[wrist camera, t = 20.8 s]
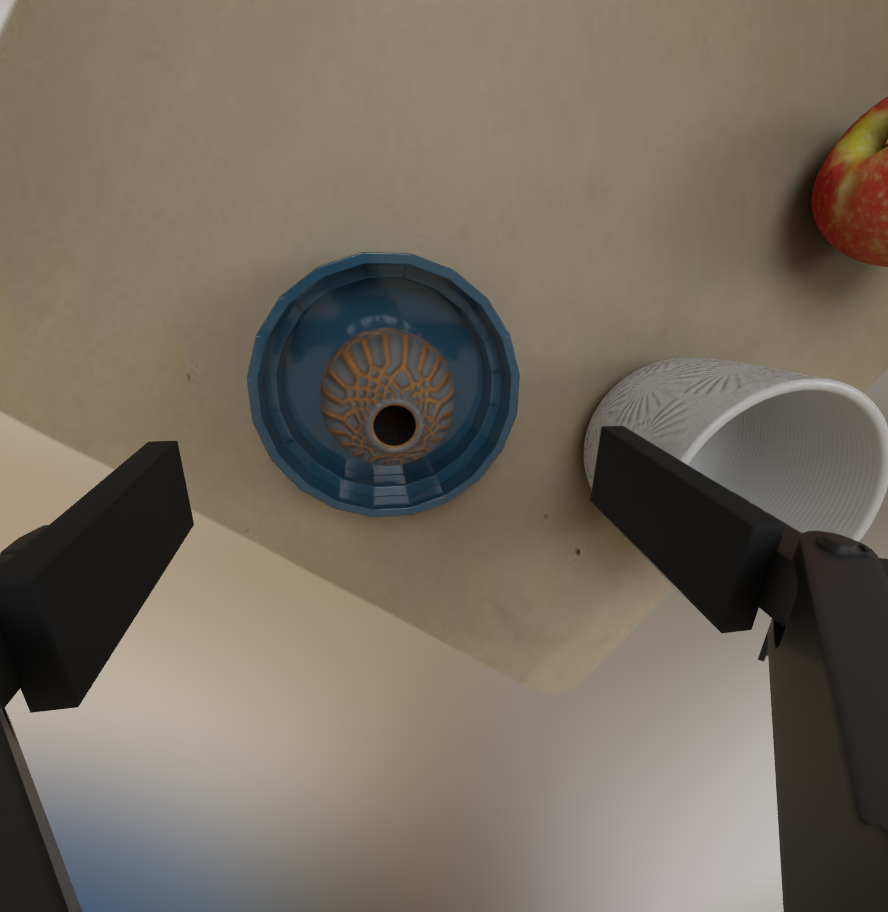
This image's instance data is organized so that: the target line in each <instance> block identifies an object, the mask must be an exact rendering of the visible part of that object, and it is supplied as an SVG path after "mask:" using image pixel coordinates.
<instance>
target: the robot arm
mask: <svg viewBox="0 0 888 912" xmlns="http://www.w3.org/2000/svg"><path fill="white" fill-rule="evenodd" d="M590 501H591V502H592V503H593V504H594V505H595V506H596V507H597V508H598V509H599V510H600V511H601V512H602V513H603V514H604V515H605V516H606V517H607V518H608V519H609V520H610V521H611V522H612V523H613V524H614V525H615V526H616V527H617V528H618V529H619V530H620V531H621V532H622V533H623V534H624V535H625V536H626V537H627V538H628V539H629V540H630V541H631V542H632V543H633V544H634V545H635V546H636V547H637V548H638V549H639V550H640V551H641V552H642V553H643V554H644V555H645V556H646V557H647V558H648V559H649V560H650V561H651V562H652V563H653V564H654V565H655V566H656V567H657V568H658V569H659V570H660V571H661V572H662V573H663V574H664V575H665V576H666V577H667V579H668V580H669V581H670V582H671V583H672V584H673V585H674V586H675V587H676V588H677V589H678V590H679V591H680V592H681V593H682V594H683V595H684V596H685V597H686V598H687V599H688V600H689V601H690V602H691V603H692V604H693V605H694V606H695V607H696V608H697V609H698V610H699V611H700V612H701V613H702V614H703V615H704V616H705V617H706V618H707V619H708V620H709V621H710V622H711V623H712V624H713V625H714V626H715V627H716V628H717V629H718V630H719V631H720V632H721V633H728V632H736V631H745V630H751V629H752V626H753V623H754V620H755V617H756V614H757V611H758V608H759V607H760V608H761V609H762V610H763V611H764V612H766V613H767V614H768V615H769V616H770V617H771V618H772V620H771V623H770V626H769V629H768V632H767V635H766V638H765V641H764V644H763V646H762V649H761V652H760V655H759V658H758V659H759V660H761V661H764V660H765V657H766V656H769V672H770V687H771V688H770V689H771V706H772V722H773V739H774V754H775V772H776V789H777V806H778V823H779V839H780V855H781V873H782V890H783V905H784V912H888V559H881V558H878V556H877V555H876V554H875V553H874V551H873V550H872V549H870V548H868V546H866V545H864V544H862V543H860V542H858V541H855V540H853V539H851V538H848V537H846V536H843V535H840V534H835V533H830V532H824V531H807V532H804V533H801V532H799V531H798V530H796V529H794V528H793V527H791V526H789V525H788V524H786V523H784V522H783V521H781V520H779V519H778V518H776V517H774V516H773V515H771V514H769V513H768V512H766V511H763V509H761V508H760V507H758V506H756V505H755V504H751V503H750V501H748V500H746V499H745V498H743V497H741V496H740V495H738V494H736V493H735V492H732V491H730V490H728V489H727V488H725V487H723V486H722V485H720V484H718V483H717V482H715V481H713V480H712V479H710V478H708V477H707V476H705V475H703V474H702V473H700V472H698V471H697V470H695V469H694V468H692V467H690V466H689V465H687V464H685V463H684V462H682V461H680V460H679V459H677V458H675V457H674V456H672V455H670V454H669V453H667V452H665V451H664V450H662V449H661V448H659V447H657V446H656V445H654V444H652V443H651V442H649V441H647V440H646V439H644V438H642V437H641V436H639V435H637V434H636V433H634V432H632V431H631V430H629V429H627V428H626V427H624V426H601V433H600V439H599V446H598V453H597V459H596V466H595V472H594V479H593V486H592V492H591V499H590ZM193 525H194V523H193V518H192V512H191V507H190V502H189V497H188V492H187V487H186V482H185V477H184V472H183V467H182V462H181V457H180V452H179V447H178V442H177V441H158V442H148V443H146V444H145V445H144V446H143V447H142V448H140V449H139V450H138V451H137V452H136V453H135V454H133V455H132V456H131V457H130V458H129V459H127V460H126V461H125V462H124V463H123V464H121V465H120V466H119V467H118V468H117V469H115V470H114V471H113V472H112V473H111V474H110V475H108V476H107V477H106V478H105V479H104V480H103V481H101V482H100V483H99V484H98V485H96V486H95V487H94V488H93V489H92V490H91V491H89V492H88V493H87V494H86V495H85V496H84V497H82V498H81V499H80V500H79V501H77V502H76V503H75V504H74V505H73V506H71V507H70V508H69V509H68V510H67V511H66V512H64V513H63V514H62V515H61V516H60V517H58V518H57V519H56V520H55V521H54V522H52V523H51V524H50V525H45V526H42V527H40V528H38V529H36V530H34V531H32V532H30V533H28V534H26V535H24V536H22V537H20V538H18V539H17V540H16V541H14V542H13V543H12V544H11V545H9V546H8V547H7V548H6V549H4V550H3V551H2V552H1V554H0V912H82V910H81V907H80V905H79V902H78V899H77V896H76V894H75V891H74V889H73V886H72V883H71V881H70V878H69V875H68V873H67V870H66V867H65V865H64V862H63V859H62V857H61V854H60V851H59V849H58V846H57V843H56V841H55V838H54V835H53V833H52V830H51V827H50V825H49V822H48V819H47V817H46V814H45V812H44V809H43V806H42V804H41V801H40V798H39V796H38V793H37V790H36V788H35V785H34V782H33V780H32V777H31V774H30V772H29V769H28V766H27V764H26V761H25V758H24V756H23V753H22V750H21V748H20V745H19V743H18V740H17V737H16V735H15V732H14V729H13V727H12V724H11V721H10V719H9V717H8V714H7V712H6V710H5V706H6V705H7V704H8V703H9V701H10V700H11V699H12V698H13V696H14V695H15V694H16V693H17V691H18V690H19V689H20V688H21V690H22V693H23V695H24V698H25V700H26V703H27V705H28V707H29V710H30V712H40V711H49V710H57V709H66V708H74V707H78V706H79V705H80V703H81V702H82V700H83V698H84V697H85V695H86V694H87V692H88V690H89V689H90V688H91V686H92V684H93V682H94V681H95V680H96V678H97V677H98V675H99V673H100V672H101V670H102V668H103V667H104V665H105V664H106V662H107V661H108V659H109V658H110V656H111V654H112V653H113V651H114V650H115V648H116V646H117V645H118V643H119V642H120V640H121V639H122V637H123V636H124V634H125V632H126V631H127V629H128V627H129V626H130V624H131V623H132V621H133V620H134V618H135V617H136V615H137V613H138V612H139V610H140V609H141V607H142V605H143V604H144V602H145V601H146V599H147V598H148V596H149V595H150V593H151V591H152V590H153V588H154V587H155V585H156V583H157V582H158V580H159V579H160V577H161V576H162V574H163V572H164V571H165V569H166V568H167V566H168V564H169V563H170V561H171V560H172V558H173V556H174V555H175V553H176V552H177V550H178V549H179V547H180V546H181V544H182V542H183V541H184V539H185V538H186V536H187V534H188V533H189V531H190V530H191V528H192V527H193Z"/></svg>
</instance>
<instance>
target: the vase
mask: <svg viewBox="0 0 888 912" xmlns="http://www.w3.org/2000/svg"><path fill="white" fill-rule="evenodd" d="M455 401H456V394H455V386H454V381H453V377H452V374H451V371H450V369H449V367H448V365H447V363H446V362H445V360H444V359H443V357H442V356H441V354H440V353H439V352H438V351H437V350H436V349H435V348H434V347H433V346H432V345H431V344H430V343H429V342H427V341H426V340H425V339H423V338H422V337H420V336H418V335H416V334H414V333H412V332H409V331H406V330H402V329H398V328H390V327H382V328H374V329H369V330H366V331H363V332H361V333H358V334H356V335H354V336H353V337H351V338H350V339H348V340H347V341H345V342H344V343H343V344H342V345H341V346H340V347H339V348H338V349H337V350H336V351H335V352H334V354H333V355H332V356H331V358H330V360H329V361H328V363H327V365H326V367H325V370H324V372H323V375H322V379H321V384H320V407H321V411H322V415H323V418H324V421H325V423H326V426H327V428H328V429H329V431H330V433H331V434H332V436H333V437H334V439H335V440H336V441H337V442H338V443H339V444H340V445H341V446H342V447H343V448H344V449H345V450H346V451H348V452H349V453H350V454H352V455H353V456H355V457H357V458H359V459H361V460H363V461H365V462H368V463H372V464H376V465H382V466H396V465H403V464H407V463H410V462H413V461H415V460H417V459H420V458H421V457H423V456H425V455H426V454H428V453H429V452H430V451H431V450H433V449H434V448H435V447H436V446H437V445H438V444H439V442H440V441H441V440H442V439H443V437H444V436H445V434H446V432H447V431H448V428H449V426H450V424H451V421H452V418H453V415H454V410H455Z"/></svg>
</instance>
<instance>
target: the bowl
mask: <svg viewBox="0 0 888 912" xmlns="http://www.w3.org/2000/svg"><path fill="white" fill-rule="evenodd" d="M382 327H390V328H398V329H402V330H406V331H409V332H412V333H414V334H416V335H418V336H420V337H422V338H423V339H425V340H426V341H427V342H429V343H430V344H431V345H432V346H433V347H434V348H435V349H436V350H437V351H438V352H439V353H440V354H441V356H442V357H443V359H444V360H445V362H446V363H447V365H448V367H449V369H450V371H451V374H452V377H453V381H454V386H455V394H456V401H455V410H454V415H453V418H452V421H451V424H450V426H449V428H448V431H447V432H446V434H445V436H444V437H443V439H442V440H441V441H440V442H439V444H438V445H437V446H436V447H435V448H434V449H433V450H431V451H430V452H429V453H428V454H426V455H425V456H423V457H421V458H420V459H417V460H415V461H413V462H410V463H407V464H403V465H396V466H382V465H376V464H372V463H368V462H365V461H363V460H361V459H359V458H357V457H355V456H353V455H352V454H350V453H349V452H348V451H346V450H345V449H344V448H343V447H342V446H341V445H340V444H339V443H338V442H337V441H336V440H335V439H334V437H333V436H332V434H331V433H330V431H329V429H328V428H327V426H326V423H325V421H324V418H323V415H322V411H321V407H320V384H321V379H322V375H323V372H324V370H325V367H326V365H327V363H328V361H329V360H330V358H331V356H332V355H333V354H334V352H335V351H336V350H337V349H338V348H339V347H340V346H341V345H342V344H343V343H344V342H345V341H347V340H348V339H350V338H351V337H353V336H354V335H356V334H358V333H361V332H363V331H366V330H369V329H374V328H382ZM519 378H520V376H519V370H518V365H517V361H516V357H515V353H514V349H513V344H512V340H511V336H510V334H509V332H508V330H507V329H506V327H505V326H504V324H503V322H502V321H501V319H500V318H499V316H498V314H497V313H496V311H495V309H494V308H493V306H492V305H491V303H490V301H489V300H488V299H487V297H485V296H484V295H483V294H482V293H481V292H479V291H478V290H477V289H476V288H475V287H473V286H472V285H471V284H470V283H469V282H467V281H466V280H465V279H464V278H463V277H461V276H460V275H459V274H458V273H457V272H455V271H454V270H452V269H450V268H447V267H445V266H442V265H439V264H437V263H434V262H432V261H429V260H426V259H424V258H421V257H418V256H416V255H413V254H409V253H378V252H363V253H359V254H355V255H352V256H349V257H346V258H343V259H340V260H337V261H334V262H331V263H328V264H325V265H322V266H319V267H317V268H316V269H314V270H313V271H312V272H310V273H309V274H308V275H307V276H305V277H304V278H303V279H301V280H300V281H299V282H298V283H296V284H295V285H294V286H292V287H291V288H290V289H289V290H287V291H286V292H285V293H284V294H282V295H281V296H280V298H279V299H278V301H277V302H276V304H275V306H274V307H273V309H272V310H271V312H270V314H269V315H268V317H267V318H266V320H265V322H264V323H263V325H262V326H261V328H260V330H259V331H258V333H257V335H256V338H255V343H254V348H253V352H252V357H251V362H250V367H249V371H248V376H247V383H248V390H249V398H250V406H251V413H252V421H253V424H254V426H255V428H256V430H257V432H258V434H259V436H260V438H261V440H262V442H263V444H264V446H265V448H266V450H267V452H268V454H269V456H270V458H271V459H272V461H273V462H274V463H275V464H276V465H277V466H278V467H279V468H280V469H281V470H282V471H283V472H284V473H285V474H286V475H287V476H288V478H289V479H290V480H291V481H292V482H293V483H294V484H295V485H296V486H297V487H298V488H299V489H301V490H302V491H304V492H306V493H308V494H309V495H311V496H313V497H315V498H317V499H319V500H320V501H322V502H324V503H326V504H328V505H329V506H331V507H333V508H335V509H339V510H343V511H348V512H352V513H357V514H361V515H366V516H370V517H384V516H400V515H411V514H412V515H413V514H416V513H418V512H421V511H424V510H427V509H430V508H433V507H436V506H438V505H441V504H444V503H447V502H449V501H450V500H452V499H453V498H454V497H456V496H457V495H459V494H460V493H461V492H463V491H464V490H466V489H467V488H469V487H470V486H471V485H473V484H474V483H476V482H477V481H478V480H479V479H480V478H481V477H482V475H483V474H484V473H485V472H486V470H487V469H488V468H489V467H490V465H491V464H492V463H493V462H494V460H495V459H496V458H497V457H498V455H499V454H500V453H501V452H502V450H503V448H504V445H505V443H506V440H507V437H508V435H509V432H510V430H511V427H512V425H513V422H514V420H515V417H516V414H517V403H518V391H519Z"/></svg>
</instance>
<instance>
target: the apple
mask: <svg viewBox="0 0 888 912" xmlns="http://www.w3.org/2000/svg"><path fill="white" fill-rule="evenodd" d="M812 211H813V216H814V219H815V222H816V225H817V227H818V229H819V231H820V232H821V234H822V235H823V236H824V238H825V239H826V240H827V241H828V242H829V243H830V244H831V245H832V246H834V247H835V248H836V249H837V250H839V251H841V252H842V253H844V254H846V255H847V256H849V257H851V258H853V259H855V260H858V261H860V262H864V263H867V264H871V265H877V266H884V267H888V97H887V98H885V99H883V100H882V101H880V102H879V103H878V104H876V105H875V106H873V107H872V108H871V109H870V110H869V111H868V112H866V113H865V114H864V115H862V116H861V117H860V118H859V119H858V120H857V121H856V122H855V123H854V124H853V125H852V126H851V127H850V128H849V129H848V130H847V131H846V133H845V134H844V135H843V136H842V137H841V139H840V140H839V141H838V142H837V143H836V144H835V145H834V147H833V148H832V150H831V151H830V152H829V154H828V156H827V158H826V159H825V161H824V163H823V164H822V166H821V168H820V170H819V172H818V175H817V177H816V179H815V183H814V187H813V192H812Z"/></svg>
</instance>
